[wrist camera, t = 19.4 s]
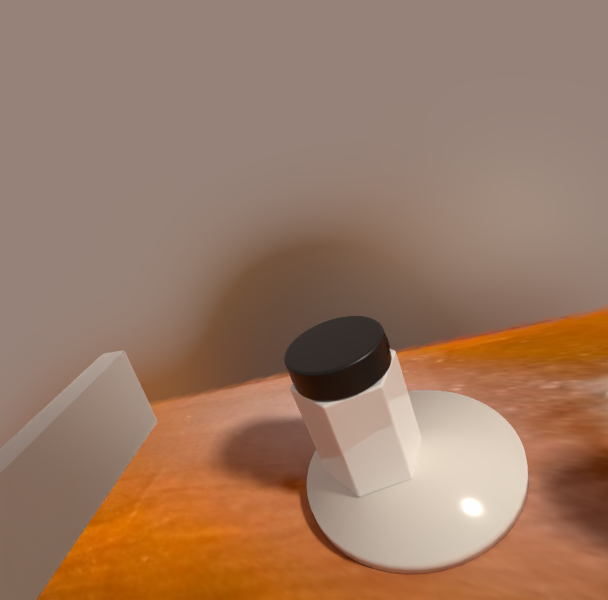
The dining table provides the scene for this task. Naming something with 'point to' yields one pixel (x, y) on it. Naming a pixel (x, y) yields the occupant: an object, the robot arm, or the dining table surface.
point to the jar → (355, 403)
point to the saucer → (432, 492)
